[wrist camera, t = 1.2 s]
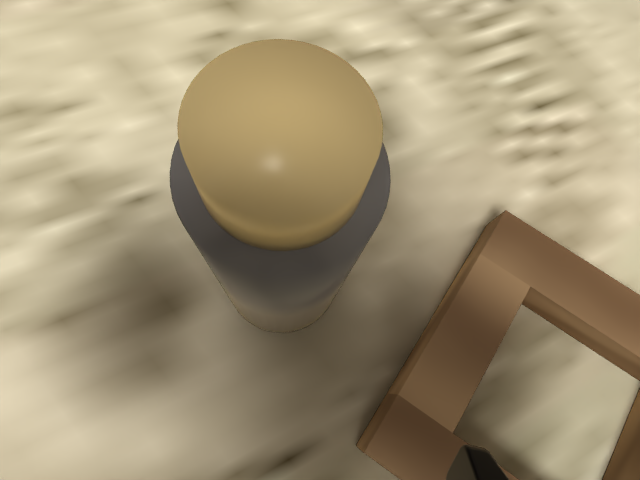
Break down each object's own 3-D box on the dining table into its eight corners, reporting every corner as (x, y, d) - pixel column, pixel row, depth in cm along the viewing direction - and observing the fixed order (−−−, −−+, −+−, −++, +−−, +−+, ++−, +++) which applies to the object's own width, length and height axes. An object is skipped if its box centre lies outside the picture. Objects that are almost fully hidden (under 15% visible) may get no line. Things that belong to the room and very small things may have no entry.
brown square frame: (613, 632, 18) (653, 663, 16) (355, 445, 19) (364, 452, 17) (710, 367, 21) (752, 366, 19) (486, 224, 22) (505, 210, 20)
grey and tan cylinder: (355, 303, 21) (462, 186, 8) (253, 352, 20) (204, 301, 7) (308, 209, 22) (341, -14, 10) (210, 251, 21) (105, 61, 9)
